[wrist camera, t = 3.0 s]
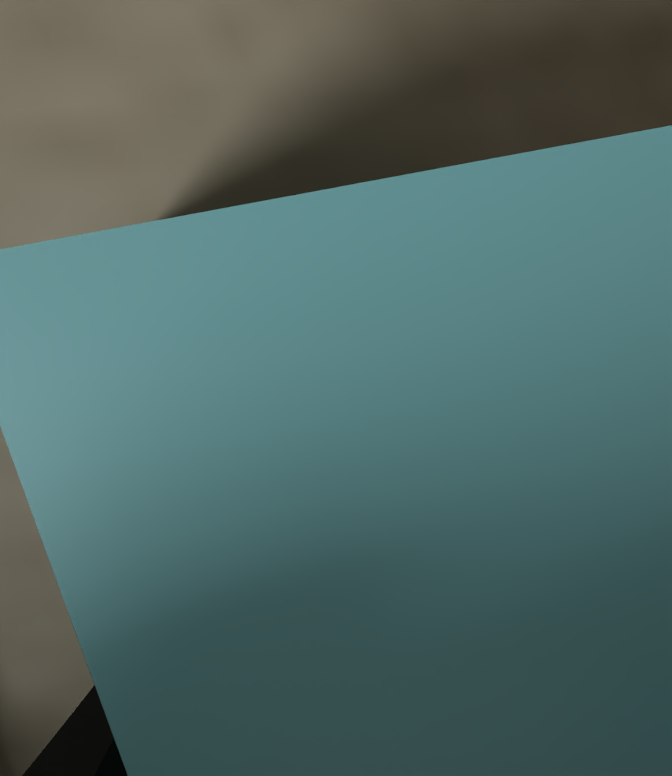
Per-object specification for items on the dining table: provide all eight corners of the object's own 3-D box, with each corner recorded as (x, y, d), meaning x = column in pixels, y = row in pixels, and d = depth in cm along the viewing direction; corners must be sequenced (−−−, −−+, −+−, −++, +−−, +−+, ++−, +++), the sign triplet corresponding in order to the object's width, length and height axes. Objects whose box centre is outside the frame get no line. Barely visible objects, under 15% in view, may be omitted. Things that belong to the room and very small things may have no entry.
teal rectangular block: (523, 833, 11) (697, 1279, 7) (317, 880, 11) (343, 1368, 7) (447, 177, 8) (695, 120, 3) (148, 231, 8) (-61, 260, 3)
